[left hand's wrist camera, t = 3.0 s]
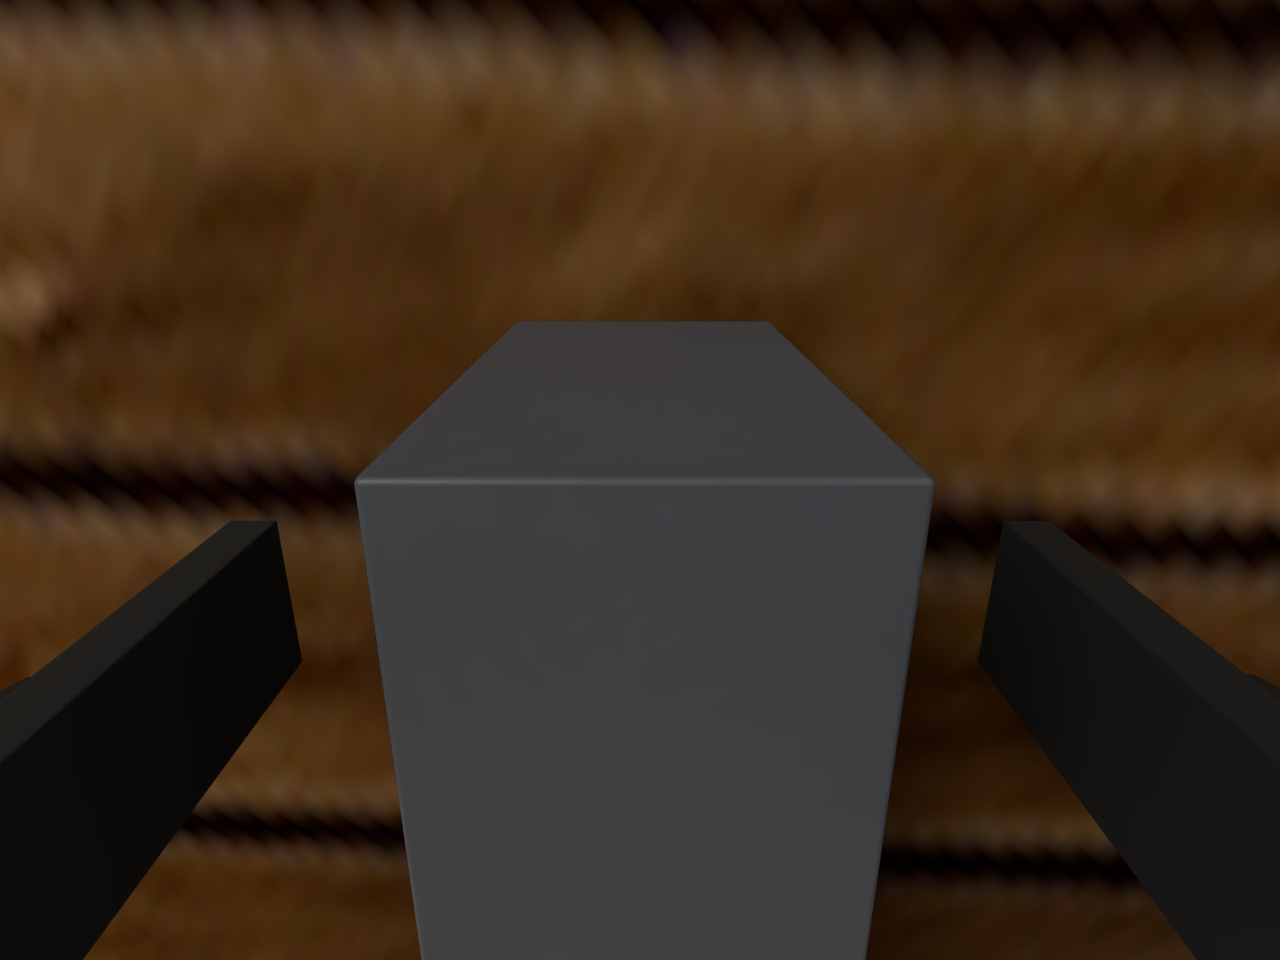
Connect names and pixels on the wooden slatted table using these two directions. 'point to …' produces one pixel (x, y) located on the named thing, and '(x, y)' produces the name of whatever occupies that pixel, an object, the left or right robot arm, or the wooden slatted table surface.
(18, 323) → the wooden slatted table surface
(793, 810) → the bar
